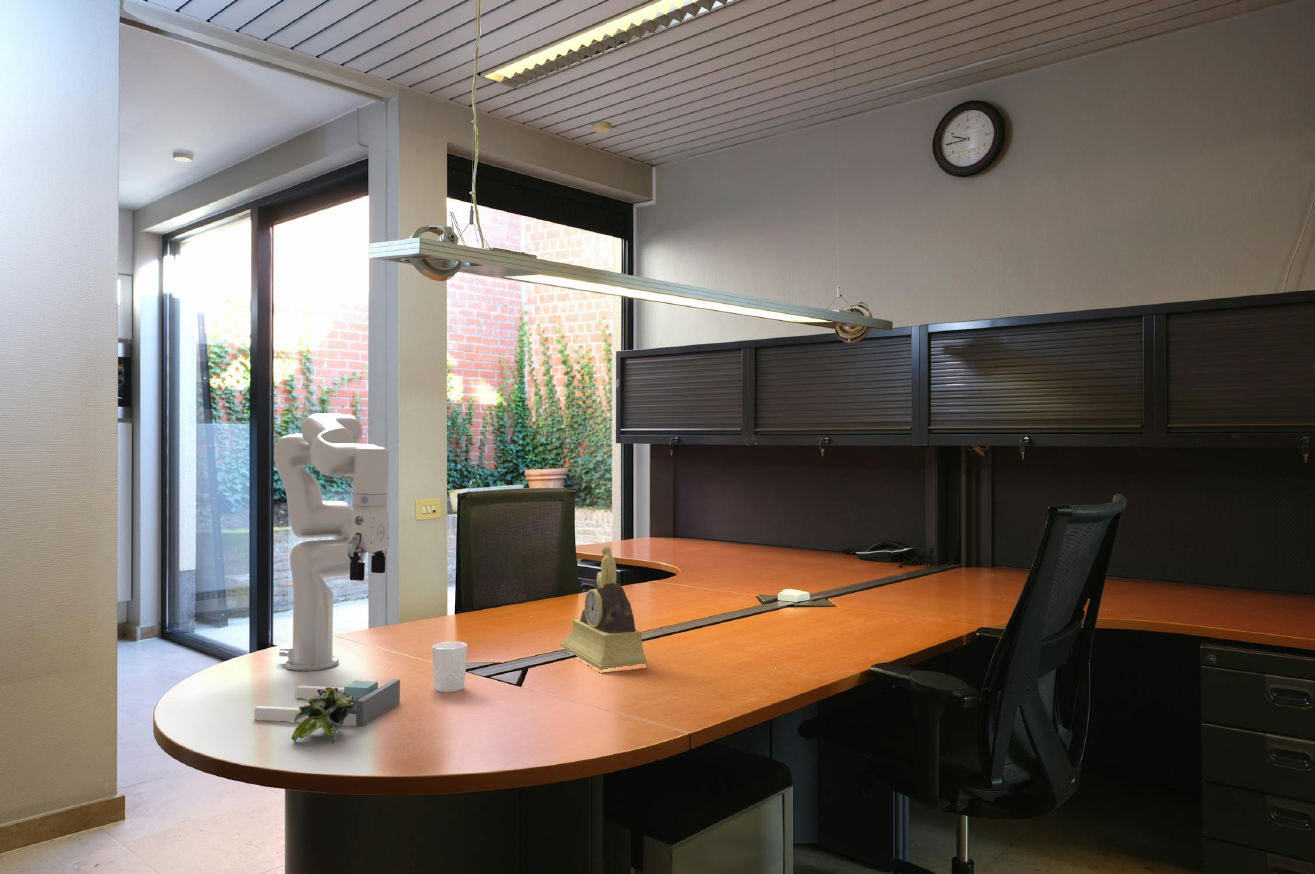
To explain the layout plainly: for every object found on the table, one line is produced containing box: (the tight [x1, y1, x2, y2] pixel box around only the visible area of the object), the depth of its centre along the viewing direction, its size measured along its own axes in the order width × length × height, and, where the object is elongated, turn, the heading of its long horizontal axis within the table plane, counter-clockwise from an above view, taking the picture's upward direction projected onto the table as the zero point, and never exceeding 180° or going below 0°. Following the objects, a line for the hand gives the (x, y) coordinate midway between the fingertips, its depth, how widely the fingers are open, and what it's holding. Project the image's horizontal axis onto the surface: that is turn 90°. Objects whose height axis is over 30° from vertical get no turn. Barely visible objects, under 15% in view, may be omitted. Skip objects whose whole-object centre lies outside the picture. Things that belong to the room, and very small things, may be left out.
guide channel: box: [254, 678, 401, 727], centre depth 187 cm, size 24×17×5 cm
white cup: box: [431, 641, 468, 693], centre depth 205 cm, size 8×8×10 cm
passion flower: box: [290, 686, 359, 744], centre depth 169 cm, size 11×11×12 cm
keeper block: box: [343, 680, 379, 709], centre depth 186 cm, size 5×5×6 cm
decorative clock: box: [559, 545, 648, 670], centre depth 235 cm, size 28×13×30 cm, turn 27°
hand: (367, 576), depth 199 cm, fingers open, 9 cm apart
